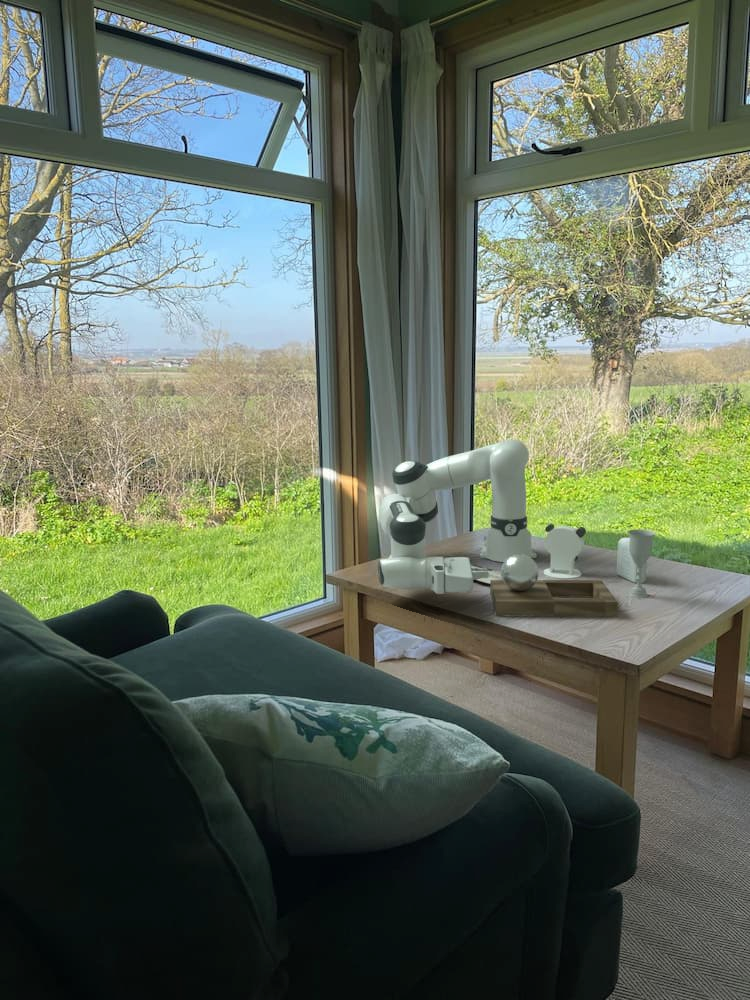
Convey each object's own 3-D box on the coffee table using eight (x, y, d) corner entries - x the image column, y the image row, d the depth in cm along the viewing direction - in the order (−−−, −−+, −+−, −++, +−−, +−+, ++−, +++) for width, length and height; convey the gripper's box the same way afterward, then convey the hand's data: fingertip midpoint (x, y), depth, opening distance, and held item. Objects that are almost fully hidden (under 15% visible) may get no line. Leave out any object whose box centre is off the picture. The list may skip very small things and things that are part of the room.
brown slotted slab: (490, 593, 205) (490, 579, 204) (600, 593, 202) (601, 580, 201) (495, 615, 187) (496, 601, 186) (617, 616, 185) (617, 601, 184)
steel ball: (498, 584, 200) (499, 549, 198) (535, 584, 199) (535, 549, 197) (502, 596, 190) (502, 559, 188) (540, 596, 189) (541, 559, 187)
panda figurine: (586, 570, 223) (588, 524, 220) (579, 581, 214) (581, 532, 211) (548, 566, 229) (549, 520, 226) (539, 576, 219) (540, 528, 216)
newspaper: (529, 584, 214) (530, 572, 213) (504, 594, 205) (505, 582, 205) (441, 561, 239) (441, 551, 238) (415, 569, 230) (415, 559, 230)
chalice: (619, 592, 203) (622, 531, 199) (638, 589, 205) (642, 528, 201) (637, 600, 196) (640, 536, 192) (657, 597, 198) (660, 534, 195)
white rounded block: (648, 582, 211) (650, 542, 208) (635, 584, 209) (637, 543, 207) (626, 573, 220) (628, 534, 218) (614, 574, 219) (615, 535, 217)
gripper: (436, 572, 206) (485, 572, 205) (437, 596, 186) (491, 596, 185) (436, 551, 204) (485, 551, 203) (437, 573, 184) (491, 573, 183)
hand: (488, 573), depth 194 cm, fingers closed
